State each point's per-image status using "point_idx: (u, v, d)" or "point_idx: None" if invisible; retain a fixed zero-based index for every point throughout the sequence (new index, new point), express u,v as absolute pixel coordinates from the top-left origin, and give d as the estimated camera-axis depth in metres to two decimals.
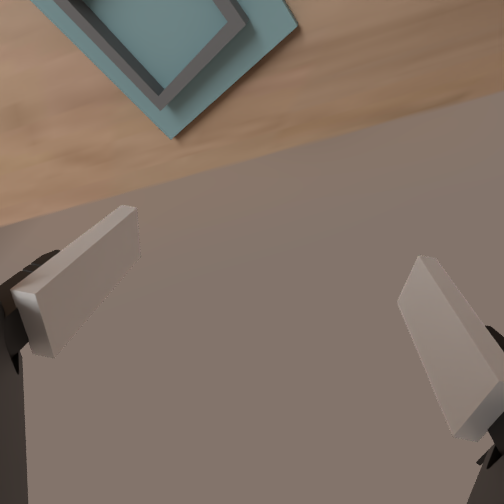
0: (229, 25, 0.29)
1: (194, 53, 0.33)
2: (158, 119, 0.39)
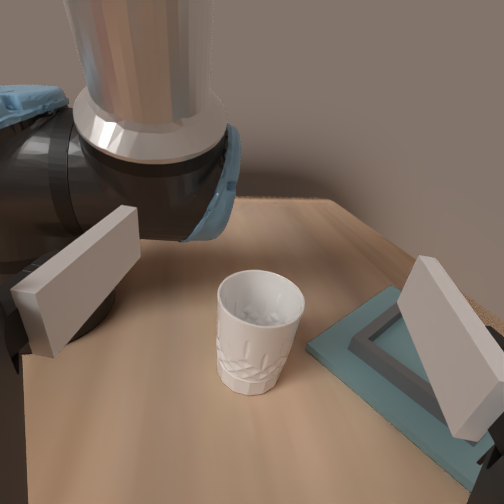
0: None
1: None
2: None
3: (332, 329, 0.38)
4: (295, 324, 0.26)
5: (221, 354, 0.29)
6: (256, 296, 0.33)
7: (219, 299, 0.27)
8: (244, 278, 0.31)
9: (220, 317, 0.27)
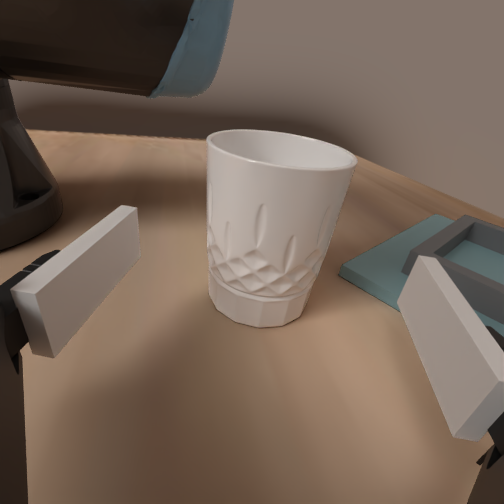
0: (476, 221, 0.30)
1: None
2: None
3: (373, 251, 0.27)
4: (346, 179, 0.15)
5: (215, 255, 0.18)
6: None
7: (210, 142, 0.15)
8: (250, 143, 0.20)
9: (212, 175, 0.15)
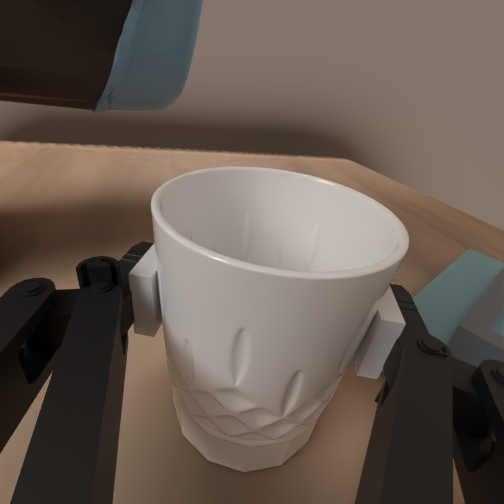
0: None
1: None
2: None
3: None
4: (393, 275, 0.08)
5: (174, 371, 0.11)
6: (261, 236, 0.15)
7: (154, 205, 0.09)
8: (233, 187, 0.13)
9: (159, 261, 0.09)
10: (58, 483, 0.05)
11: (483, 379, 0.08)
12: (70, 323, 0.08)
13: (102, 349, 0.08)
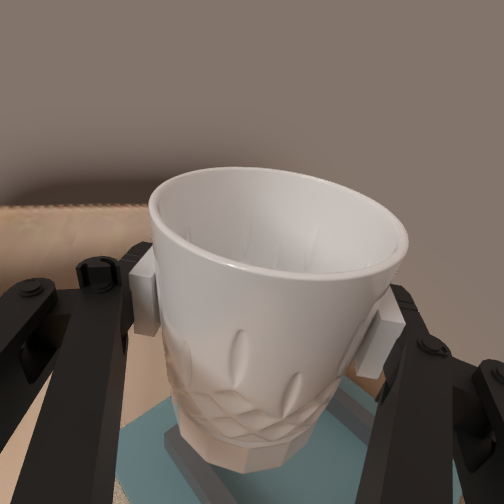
0: None
1: (328, 413, 0.27)
2: None
3: (156, 410, 0.25)
4: (392, 276, 0.08)
5: (172, 372, 0.11)
6: (260, 237, 0.14)
7: (152, 206, 0.09)
8: (232, 187, 0.13)
9: (157, 262, 0.09)
10: (58, 483, 0.05)
11: (483, 379, 0.08)
12: (70, 323, 0.08)
13: (101, 348, 0.08)
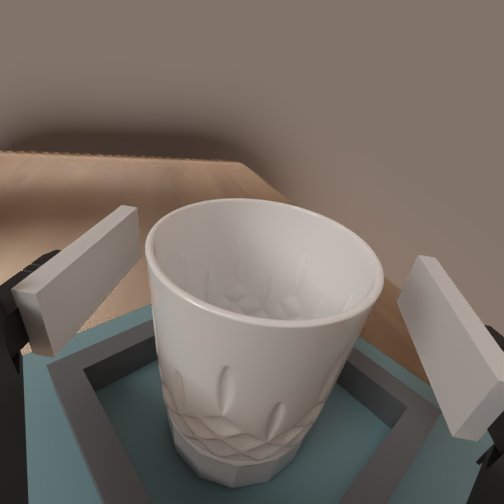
0: None
1: None
2: None
3: None
4: (367, 316, 0.09)
5: (167, 394, 0.12)
6: (252, 261, 0.15)
7: (148, 248, 0.09)
8: (225, 217, 0.14)
9: (152, 299, 0.10)
10: None
11: None
12: None
13: None
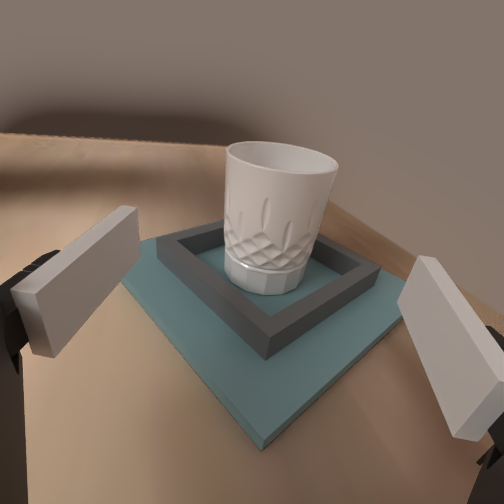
0: None
1: None
2: None
3: (152, 240, 0.29)
4: (328, 180, 0.20)
5: (231, 238, 0.23)
6: None
7: (229, 152, 0.21)
8: (257, 152, 0.25)
9: (230, 177, 0.21)
10: None
11: None
12: None
13: None
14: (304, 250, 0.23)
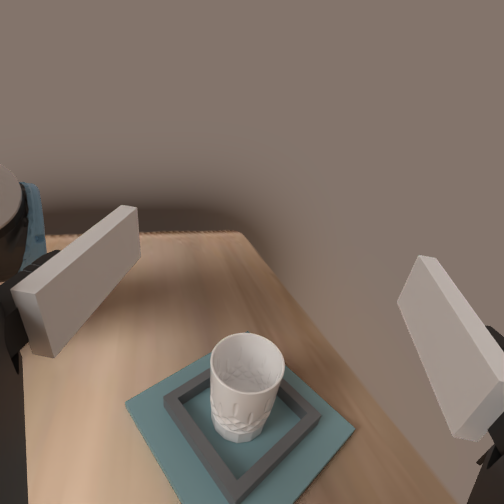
0: None
1: None
2: (337, 436, 0.37)
3: (159, 385, 0.40)
4: (276, 387, 0.31)
5: (214, 409, 0.34)
6: (244, 353, 0.37)
7: (212, 366, 0.32)
8: (234, 340, 0.36)
9: (213, 381, 0.32)
10: None
11: None
12: None
13: None
14: (263, 419, 0.34)
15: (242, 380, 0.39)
